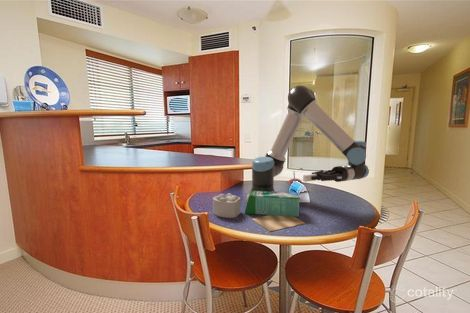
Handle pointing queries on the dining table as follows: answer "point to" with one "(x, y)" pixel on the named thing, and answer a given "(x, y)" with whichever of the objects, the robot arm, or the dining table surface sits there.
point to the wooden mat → (277, 222)
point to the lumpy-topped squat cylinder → (227, 205)
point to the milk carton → (272, 203)
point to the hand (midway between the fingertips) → (304, 178)
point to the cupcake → (294, 180)
